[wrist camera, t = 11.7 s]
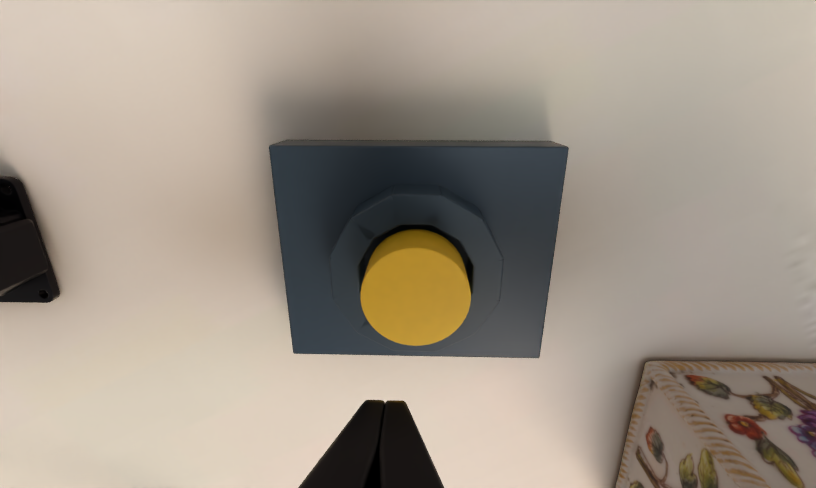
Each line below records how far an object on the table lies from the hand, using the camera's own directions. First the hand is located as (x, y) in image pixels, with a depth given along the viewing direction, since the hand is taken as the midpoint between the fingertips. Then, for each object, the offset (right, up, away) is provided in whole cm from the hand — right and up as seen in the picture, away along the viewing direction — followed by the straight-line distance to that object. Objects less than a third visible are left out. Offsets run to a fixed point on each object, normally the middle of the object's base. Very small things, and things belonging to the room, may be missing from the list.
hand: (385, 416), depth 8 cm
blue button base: (+1, +4, +11) cm, 12 cm away
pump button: (+1, +2, +8) cm, 8 cm away
